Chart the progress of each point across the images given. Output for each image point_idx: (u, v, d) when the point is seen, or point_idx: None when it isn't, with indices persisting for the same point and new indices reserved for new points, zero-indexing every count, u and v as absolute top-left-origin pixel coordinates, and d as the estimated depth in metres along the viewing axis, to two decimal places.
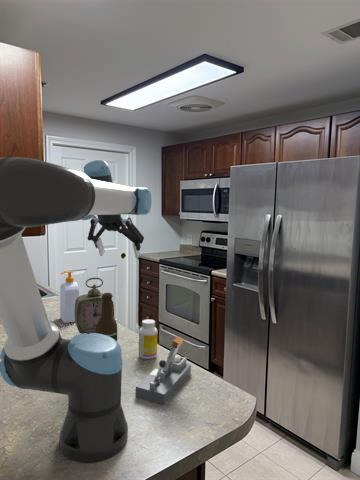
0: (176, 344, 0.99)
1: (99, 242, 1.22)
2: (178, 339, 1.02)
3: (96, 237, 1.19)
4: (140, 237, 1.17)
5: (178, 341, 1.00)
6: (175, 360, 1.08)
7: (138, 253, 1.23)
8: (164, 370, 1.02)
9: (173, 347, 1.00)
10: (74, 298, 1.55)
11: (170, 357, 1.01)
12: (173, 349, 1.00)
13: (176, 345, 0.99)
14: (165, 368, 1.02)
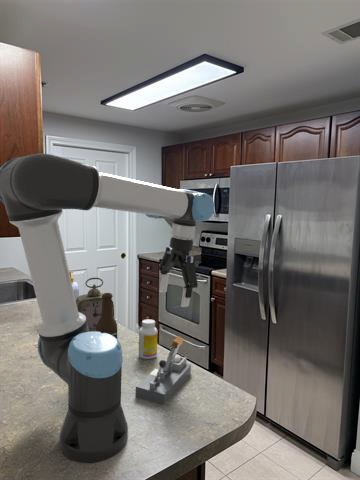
0: (176, 344, 0.99)
1: (164, 276, 1.19)
2: (178, 339, 1.02)
3: (163, 268, 1.18)
4: (193, 281, 1.06)
5: (178, 341, 1.00)
6: (175, 360, 1.08)
7: (186, 303, 1.09)
8: (164, 370, 1.02)
9: (173, 347, 1.00)
10: None
11: (170, 357, 1.01)
12: (173, 349, 1.00)
13: (176, 345, 0.99)
14: (165, 368, 1.02)
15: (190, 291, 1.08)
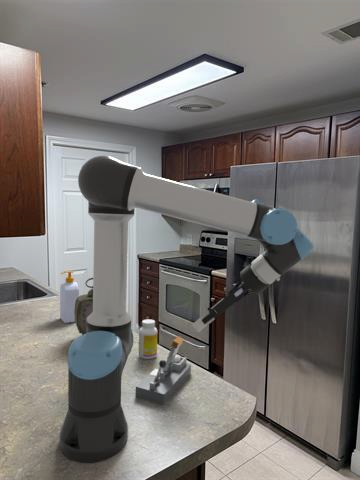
0: (176, 344, 0.99)
1: None
2: (178, 339, 1.02)
3: None
4: (216, 309, 0.86)
5: (178, 341, 1.00)
6: (175, 360, 1.08)
7: (198, 326, 0.91)
8: (164, 370, 1.02)
9: (173, 347, 1.00)
10: (74, 298, 1.55)
11: (170, 357, 1.01)
12: (173, 349, 1.00)
13: (176, 345, 0.99)
14: (165, 368, 1.02)
15: (209, 318, 0.88)
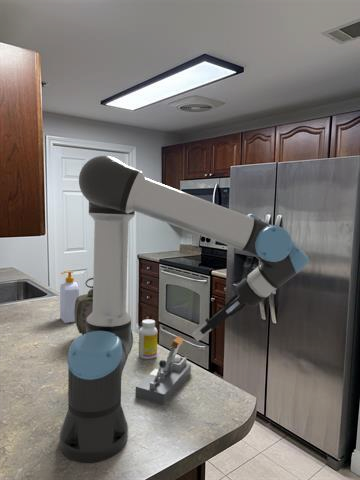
0: (176, 344, 0.99)
1: None
2: (178, 339, 1.02)
3: None
4: (211, 322, 0.93)
5: (178, 341, 1.00)
6: (175, 360, 1.08)
7: (197, 336, 0.98)
8: (164, 370, 1.02)
9: (173, 347, 1.00)
10: (74, 298, 1.55)
11: (170, 357, 1.01)
12: (173, 349, 1.00)
13: (176, 345, 0.99)
14: (165, 368, 1.02)
15: (206, 328, 0.96)
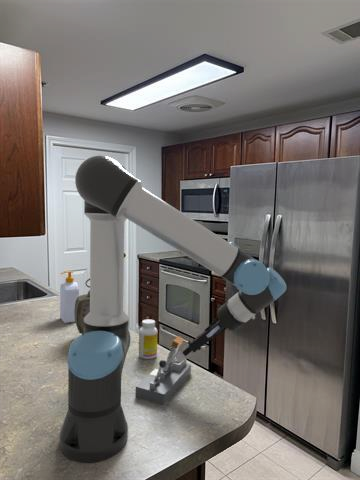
0: (176, 344, 0.99)
1: None
2: (178, 339, 1.02)
3: (198, 336, 1.00)
4: (193, 345, 0.95)
5: (178, 341, 1.00)
6: (175, 360, 1.08)
7: (180, 357, 1.01)
8: (164, 370, 1.02)
9: (173, 347, 1.00)
10: (74, 298, 1.55)
11: (170, 357, 1.01)
12: (173, 349, 1.00)
13: (176, 345, 0.99)
14: (165, 368, 1.02)
15: (188, 350, 0.98)
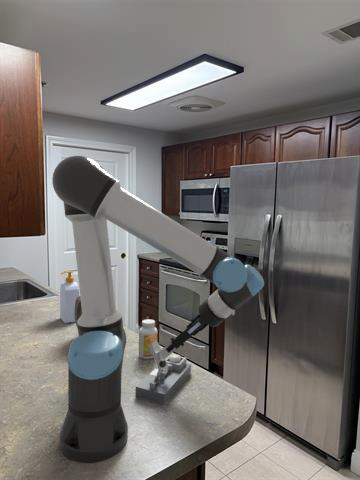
0: (148, 340, 1.03)
1: None
2: (150, 336, 1.05)
3: None
4: (175, 341, 0.97)
5: (149, 337, 1.04)
6: (175, 360, 1.08)
7: (163, 354, 1.03)
8: None
9: (149, 344, 1.03)
10: (74, 298, 1.55)
11: (155, 354, 1.03)
12: (150, 346, 1.03)
13: (149, 340, 1.03)
14: None
15: (172, 347, 1.00)
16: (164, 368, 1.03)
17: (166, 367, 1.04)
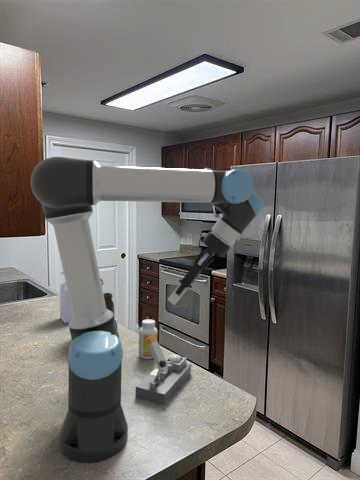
0: (148, 340, 1.03)
1: None
2: (150, 336, 1.05)
3: None
4: (186, 279, 0.95)
5: (149, 337, 1.04)
6: (175, 360, 1.08)
7: (173, 299, 0.99)
8: None
9: (149, 344, 1.03)
10: None
11: (155, 354, 1.03)
12: (150, 346, 1.03)
13: (149, 340, 1.03)
14: None
15: (181, 288, 0.97)
16: (164, 368, 1.03)
17: (166, 367, 1.04)
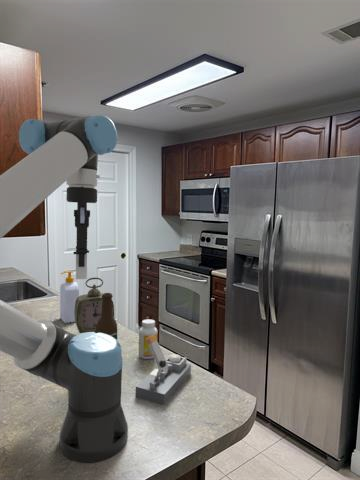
0: (148, 340, 1.03)
1: None
2: (150, 336, 1.05)
3: None
4: (80, 246, 0.84)
5: (149, 337, 1.04)
6: (175, 360, 1.08)
7: (82, 274, 0.88)
8: None
9: (149, 344, 1.03)
10: (74, 298, 1.55)
11: (155, 354, 1.03)
12: (150, 346, 1.03)
13: (149, 340, 1.03)
14: None
15: (82, 258, 0.87)
16: (164, 368, 1.03)
17: (166, 367, 1.04)
